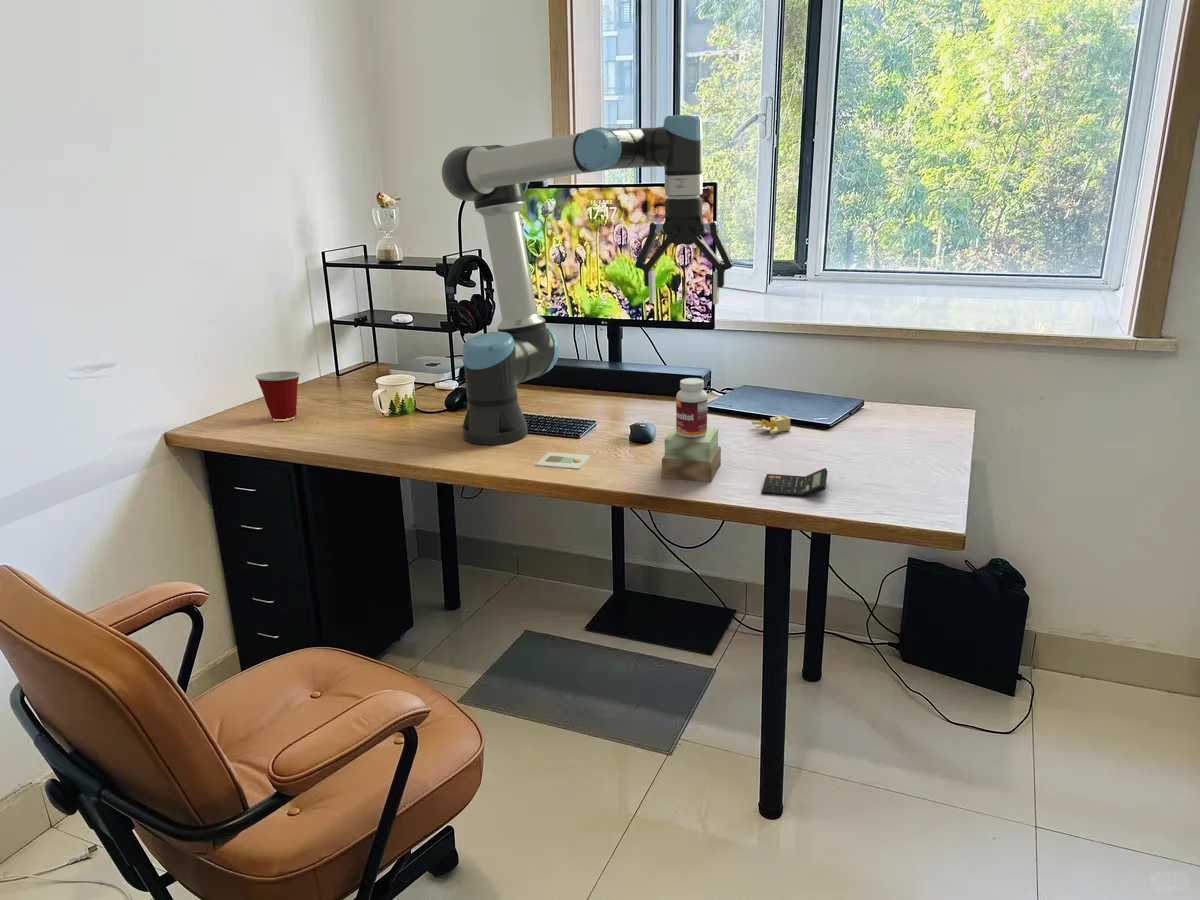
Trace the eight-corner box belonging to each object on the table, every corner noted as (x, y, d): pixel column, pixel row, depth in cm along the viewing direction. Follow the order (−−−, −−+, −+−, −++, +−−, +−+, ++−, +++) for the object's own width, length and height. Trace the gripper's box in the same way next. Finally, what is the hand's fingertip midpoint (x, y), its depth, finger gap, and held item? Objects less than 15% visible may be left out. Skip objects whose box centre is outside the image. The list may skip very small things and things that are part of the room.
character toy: (749, 415, 198) (779, 411, 200) (749, 428, 199) (779, 424, 201) (766, 424, 191) (797, 420, 193) (765, 438, 192) (796, 434, 194)
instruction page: (534, 465, 181) (534, 464, 181) (548, 452, 188) (548, 451, 188) (579, 469, 178) (579, 467, 178) (591, 456, 185) (591, 455, 185)
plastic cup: (316, 415, 222) (309, 370, 218) (283, 426, 214) (276, 380, 210) (286, 410, 227) (279, 366, 223) (253, 422, 218) (245, 376, 214)
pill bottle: (669, 434, 172) (669, 381, 168) (690, 427, 176) (690, 375, 172) (693, 440, 168) (693, 386, 164) (713, 433, 172) (714, 380, 168)
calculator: (766, 477, 170) (767, 463, 169) (826, 482, 167) (827, 467, 166) (761, 495, 162) (761, 480, 161) (824, 500, 159) (825, 485, 158)
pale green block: (662, 477, 171) (661, 440, 169) (673, 461, 180) (673, 425, 178) (711, 482, 168) (711, 443, 166) (720, 464, 177) (721, 428, 175)
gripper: (618, 199, 172) (621, 304, 179) (742, 197, 165) (740, 307, 172) (629, 197, 179) (631, 298, 186) (748, 194, 171) (746, 300, 178)
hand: (683, 302), depth 179 cm, fingers open, 13 cm apart
